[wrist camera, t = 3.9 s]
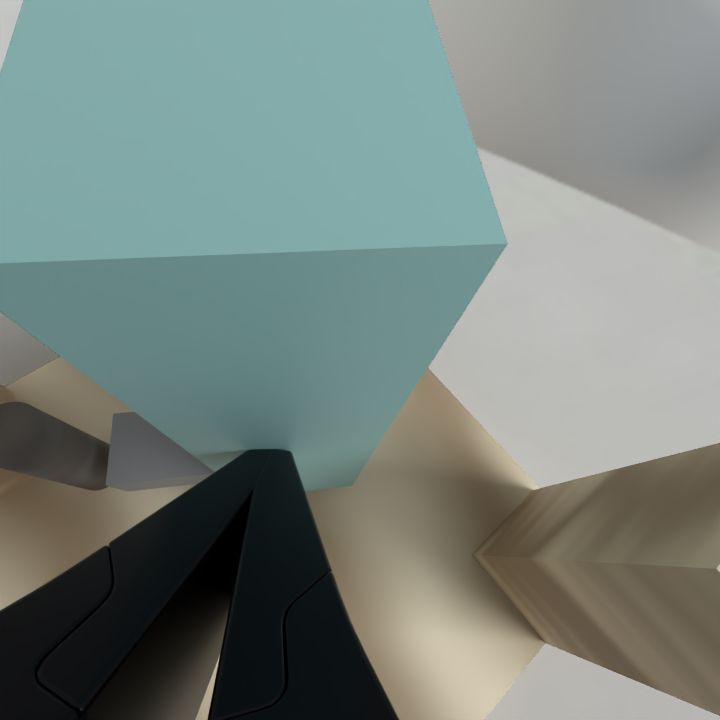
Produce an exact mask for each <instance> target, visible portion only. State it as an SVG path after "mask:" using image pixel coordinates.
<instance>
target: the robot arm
mask: <svg viewBox="0 0 720 720" xmlns="http://www.w3.org/2000/svg"><path fill="white" fill-rule="evenodd" d="M108 546H109V547H108ZM108 546H106V545H105V546H103V547H101V548H100V549H98V550H97V551H95V552H94V553H92V554H91V555H89V556H88V557H86V558H85V559H83V560H82V561H80V562H79V563H77V564H75V565H74V566H72V567H71V568H69V569H68V570H66V571H65V572H63V573H61V574H60V575H58V576H57V577H55V578H54V579H52V580H50V581H49V582H47V583H46V584H44V585H42V586H41V587H39V588H37V589H36V590H34V591H32V592H30V593H29V594H27V595H25V596H24V597H22V598H20V599H19V600H17V601H15V602H13V603H12V604H10V605H8V606H7V607H5V608H3V609H2V610H0V720H195V719H196V717H197V714H198V711H199V709H200V706H201V703H202V701H203V698H204V696H205V693H206V690H207V688H208V685H209V682H210V680H211V677H212V674H213V672H214V669H215V666H216V664H217V661H218V658H219V662H218V667H217V673H216V678H215V683H214V688H213V693H212V698H211V703H210V708H209V714H208V719H207V720H399V718H398V716H397V714H396V712H395V710H394V708H393V706H392V704H391V702H390V700H389V698H388V696H387V694H386V692H385V690H384V688H383V686H382V684H381V682H380V680H379V678H378V676H377V674H376V672H375V670H374V668H373V666H372V664H371V662H370V660H369V658H368V656H367V654H366V652H365V650H364V648H363V646H362V644H361V642H360V639H359V637H358V635H357V633H356V631H355V629H354V627H353V624H352V622H351V620H350V617H349V615H348V612H347V610H346V607H345V604H344V602H343V599H342V597H341V594H340V591H339V588H338V585H337V582H336V580H335V577H334V574H333V573H332V569H331V566H330V563H329V560H328V557H327V554H326V551H325V548H324V545H323V542H322V539H321V536H320V533H319V530H318V527H317V525H316V522H315V519H314V516H313V513H312V510H311V507H310V504H309V501H308V498H307V495H306V492H305V489H304V486H303V483H302V481H301V478H300V475H299V472H298V469H297V466H296V463H295V460H294V457H293V454H292V452H291V451H288V450H280V449H251V450H247V451H246V452H244V453H243V454H241V455H240V456H238V457H237V458H235V459H234V460H232V461H231V462H229V463H228V464H226V465H225V466H223V467H222V468H220V469H219V470H217V471H216V472H214V473H213V474H211V475H210V476H208V477H207V478H205V479H204V480H202V481H201V482H199V483H198V484H196V485H195V486H193V487H192V488H190V489H189V490H187V491H186V492H184V493H183V494H181V495H180V496H178V497H177V498H175V499H174V500H172V501H171V502H169V503H168V504H166V505H165V506H163V507H162V508H160V509H159V510H157V511H156V512H154V513H153V514H151V515H150V516H148V517H147V518H145V519H144V520H142V521H141V522H139V523H138V524H136V525H135V526H133V527H132V528H130V529H129V530H127V531H126V532H124V533H123V534H121V535H120V536H118V537H117V538H115V539H114V540H112V541H111V542H110V543H109V545H108ZM219 656H220V657H219Z"/></svg>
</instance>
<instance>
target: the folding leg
mask: <svg viewBox="0 0 720 720" xmlns="http://www.w3.org/2000/svg"><path fill="white" fill-rule="evenodd" d="M507 244H508V243H507V240H506V237H505V234H504V231H503V228H502V225H501V222H500V219H499V216H498V213H497V210H496V207H495V204H494V201H493V197H492V194H491V191H490V188H489V185H488V182H487V179H486V176H485V173H484V170H483V167H482V164H481V161H480V158H479V154H478V151H477V148H476V145H475V142H474V139H473V137H472V133H471V130H470V127H469V124H468V121H467V118H466V115H465V112H464V109H463V106H462V103H461V99H460V96H459V93H458V90H457V87H456V84H455V81H454V78H453V75H452V72H451V69H450V66H449V62H448V59H447V57H446V53H445V50H444V47H443V44H442V41H441V38H440V35H439V32H438V29H437V26H436V23H435V20H434V17H433V14H432V10H431V7H430V4H429V1H428V0H23V3H22V6H21V10H20V13H19V16H18V19H17V22H16V25H15V29H14V32H13V35H12V38H11V41H10V44H9V47H8V51H7V54H6V57H5V60H4V63H3V66H2V70H1V73H0V312H2V313H3V314H4V315H6V316H7V317H9V318H10V319H11V320H13V321H14V322H15V323H17V324H18V325H19V326H21V327H22V328H23V329H25V330H26V331H27V332H29V333H30V334H31V335H33V336H34V337H35V338H37V339H38V340H39V341H41V342H42V343H43V344H45V345H46V346H47V347H49V348H50V349H51V350H53V351H54V352H55V353H57V354H58V355H59V356H61V357H62V358H63V359H65V360H66V361H67V362H69V363H70V364H71V365H73V366H74V367H75V368H77V369H78V370H79V371H81V372H82V373H83V374H85V375H86V376H87V377H89V378H90V379H91V380H93V381H94V382H95V383H97V384H98V385H99V386H101V387H102V388H103V389H105V390H106V391H107V392H109V393H110V394H111V395H113V396H114V397H115V398H117V399H118V400H119V401H121V402H122V403H123V404H125V405H126V406H127V407H129V408H130V409H131V410H133V411H134V412H125V413H114V414H113V420H112V429H111V439H110V448H109V458H108V467H107V477H106V486H110V487H113V488H116V489H120V490H123V491H127V492H129V491H138V490H147V489H156V488H164V487H173V486H182V485H191V484H198V483H199V482H201V481H202V480H204V479H205V478H207V477H208V476H210V475H211V474H213V473H214V472H216V471H217V470H219V469H220V468H222V467H223V466H225V465H226V464H228V463H229V462H231V461H232V460H234V459H235V458H237V457H238V456H240V455H241V454H243V453H244V452H246V451H247V450H251V449H280V450H288V451H291V452H292V454H293V457H294V460H295V463H296V466H297V469H298V472H299V475H300V478H301V481H302V483H303V486H304V489H305V491H312V490H321V489H329V488H337V487H346V486H352V485H353V483H354V482H355V480H356V479H357V477H358V475H359V474H360V472H361V471H362V469H363V468H364V466H365V465H366V463H367V461H368V460H369V458H370V457H371V455H372V454H373V452H374V451H375V449H376V447H377V446H378V444H379V443H380V441H381V440H382V438H383V437H384V435H385V433H386V432H387V430H388V429H389V427H390V426H391V424H392V423H393V421H394V419H395V418H396V416H397V415H398V413H399V412H400V410H401V409H402V407H403V405H404V404H405V402H406V401H407V399H408V398H409V396H410V395H411V393H412V391H413V390H414V388H415V387H416V385H417V384H418V382H419V381H420V379H421V377H422V376H423V374H424V373H425V371H426V370H427V368H428V367H429V365H430V363H431V362H432V360H433V359H434V357H435V356H436V354H437V353H438V351H439V349H440V348H441V346H442V345H443V343H444V342H445V340H446V339H447V337H448V335H449V334H450V332H451V331H452V329H453V328H454V326H455V325H456V323H457V321H458V320H459V318H460V317H461V315H462V314H463V312H464V311H465V309H466V307H467V306H468V304H469V303H470V301H471V300H472V298H473V297H474V295H475V293H476V292H477V290H478V289H479V287H480V286H481V284H482V283H483V281H484V279H485V278H486V276H487V275H488V273H489V272H490V270H491V269H492V267H493V266H494V264H495V262H496V261H497V259H498V258H499V256H500V255H501V253H502V252H503V250H504V248H505V247H506V245H507Z"/></svg>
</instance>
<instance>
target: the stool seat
mask: <svg viewBox="0 0 720 720" xmlns="http://www.w3.org/2000/svg"><path fill="white" fill-rule="evenodd" d="M125 412H134V411H133V410H131V409H130V408H129V407H127V406H126V405H125V404H123V403H122V402H121V401H119V400H118V399H117V398H115V397H114V396H113V395H111V394H110V393H109V392H107V391H106V390H105V389H103V388H102V387H101V386H99V385H98V384H97V383H95V382H94V381H93V380H91V379H90V378H89V377H87V376H86V375H85V374H83V373H82V372H81V371H79V370H78V369H77V368H75V367H74V366H73V365H71V364H70V363H69V362H67V361H66V360H65V359H63V358H62V357H61V356H60V357H58V358H56V359H54V360H52V361H51V362H49V363H47V364H45V365H43V366H42V367H40V368H38V369H36V370H34V371H33V372H31V373H29V374H27V375H25V376H24V377H22V378H20V379H18V380H16V381H15V382H13V383H11V384H9V385H7V386H6V387H4V386H2V385H0V610H2V609H3V608H5V607H7V606H8V605H10V604H12V603H13V602H15V601H17V600H19V599H20V598H22V597H24V596H25V595H27V594H29V593H30V592H32V591H34V590H36V589H37V588H39V587H41V586H42V585H44V584H46V583H47V582H49V581H50V580H52V579H54V578H55V577H57V576H58V575H60V574H61V573H63V572H65V571H66V570H68V569H69V568H71V567H72V566H74V565H75V564H77V563H79V562H80V561H82V560H83V559H85V558H86V557H88V556H89V555H91V554H92V553H94V552H95V551H97V550H98V549H100V548H101V547H103V546H105V545H106V546H108V545H109V543H110V542H111V541H112V540H114V539H115V538H117V537H118V536H120V535H121V534H123V533H124V532H126V531H127V530H129V529H130V528H132V527H133V526H135V525H136V524H138V523H139V522H141V521H142V520H144V519H145V518H147V517H148V516H150V515H151V514H153V513H154V512H156V511H157V510H159V509H160V508H162V507H163V506H165V505H166V504H168V503H169V502H171V501H172V500H174V499H175V498H177V497H178V496H180V495H181V494H183V493H184V492H186V491H187V490H189V489H190V488H192V487H193V486H195V485H196V484H191V485H182V486H173V487H164V488H156V489H147V490H138V491H129V492H127V491H123V490H120V489H116V488H113V487H110V486H106V477H107V467H108V458H109V448H110V439H111V429H112V420H113V414H114V413H125ZM305 492H306V495H307V498H308V501H309V504H310V507H311V510H312V513H313V516H314V519H315V522H316V525H317V527H318V530H319V533H320V536H321V539H322V542H323V545H324V548H325V551H326V554H327V557H328V560H329V563H330V566H331V569H332V573H333V574H334V577H335V580H336V582H337V585H338V588H339V591H340V594H341V597H342V599H343V602H344V604H345V607H346V610H347V612H348V615H349V617H350V620H351V622H352V624H353V627H354V629H355V631H356V633H357V635H358V637H359V639H360V642H361V644H362V646H363V648H364V650H365V652H366V654H367V656H368V658H369V660H370V662H371V664H372V666H373V668H374V670H375V672H376V674H377V676H378V678H379V680H380V682H381V684H382V686H383V688H384V690H385V692H386V694H387V696H388V698H389V700H390V702H391V704H392V706H393V708H394V710H395V712H396V714H397V716H398V718H399V720H484V719H485V718H486V717H487V716H488V714H489V713H490V712H491V711H492V709H493V708H494V707H495V706H496V704H497V703H498V702H499V701H500V699H501V698H502V697H503V696H504V694H505V693H506V692H507V690H508V689H509V688H510V687H511V685H512V684H513V683H514V682H515V680H516V679H517V678H518V677H519V675H520V674H521V673H522V672H523V670H524V669H525V668H526V667H527V665H528V664H529V663H530V662H531V660H532V659H533V658H534V656H535V655H536V654H537V653H538V651H539V650H540V649H541V648H542V646H543V645H544V644H545V643H547V644H549V645H552V646H554V647H557V648H559V649H561V650H564V651H566V652H569V653H571V654H573V655H576V656H578V657H580V658H583V659H585V660H588V661H590V662H592V663H595V664H597V665H600V666H602V667H604V668H607V669H609V670H612V671H614V672H616V673H619V674H621V675H624V676H626V677H628V678H631V679H633V680H635V681H638V682H640V683H643V684H645V685H647V686H650V687H652V688H655V689H657V690H659V691H662V692H664V693H667V694H669V695H671V696H674V697H676V698H678V699H681V700H683V701H686V702H688V703H690V704H693V705H695V706H698V707H700V708H702V709H705V710H707V711H710V712H712V713H714V714H717V715H719V716H720V443H718V444H714V445H710V446H706V447H702V448H698V449H694V450H690V451H686V452H682V453H678V454H675V455H671V456H667V457H663V458H659V459H655V460H651V461H647V462H643V463H639V464H635V465H631V466H627V467H623V468H619V469H615V470H611V471H607V472H603V473H599V474H595V475H591V476H587V477H583V478H579V479H576V480H572V481H568V482H564V483H560V484H556V485H552V486H548V487H544V488H539V487H538V486H537V485H536V484H535V483H534V482H533V481H532V479H531V478H530V477H529V476H528V475H527V474H526V473H525V472H524V471H523V470H522V469H521V468H520V466H519V465H518V464H517V463H516V462H515V461H514V460H513V459H512V458H511V457H510V456H509V455H508V454H507V452H506V451H505V450H504V449H503V448H502V447H501V446H500V445H499V444H498V443H497V442H496V441H495V440H494V438H493V437H492V436H491V435H490V434H489V433H488V432H487V431H486V430H485V429H484V428H483V427H482V426H481V424H480V423H479V422H478V421H477V420H476V419H475V418H474V417H473V416H472V415H471V414H470V413H469V411H468V410H467V409H466V408H465V407H464V406H463V405H462V404H461V403H460V402H459V401H458V400H457V399H456V397H455V396H454V395H453V394H452V393H451V392H450V391H449V390H448V389H447V388H446V387H445V386H444V385H443V383H442V382H441V381H440V380H439V379H438V378H437V377H436V376H435V375H434V374H433V373H432V372H431V371H430V369H429V368H427V370H426V371H425V373H424V374H423V376H422V377H421V379H420V381H419V382H418V384H417V385H416V387H415V388H414V390H413V391H412V393H411V395H410V396H409V398H408V399H407V401H406V402H405V404H404V405H403V407H402V409H401V410H400V412H399V413H398V415H397V416H396V418H395V419H394V421H393V423H392V424H391V426H390V427H389V429H388V430H387V432H386V433H385V435H384V437H383V438H382V440H381V441H380V443H379V444H378V446H377V447H376V449H375V451H374V452H373V454H372V455H371V457H370V458H369V460H368V461H367V463H366V465H365V466H364V468H363V469H362V471H361V472H360V474H359V475H358V477H357V479H356V480H355V482H354V483H353V485H352V486H346V487H337V488H329V489H321V490H312V491H305ZM108 547H109V546H108ZM219 657H220V656H219ZM218 662H219V658H218V661H217V664H216V666H215V669H214V672H213V674H212V677H211V680H210V682H209V685H208V688H207V690H206V693H205V696H204V698H203V701H202V703H201V706H200V709H199V711H198V714H197V717H196V719H195V720H207V719H208V714H209V708H210V703H211V698H212V693H213V688H214V683H215V678H216V673H217V667H218Z"/></svg>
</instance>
